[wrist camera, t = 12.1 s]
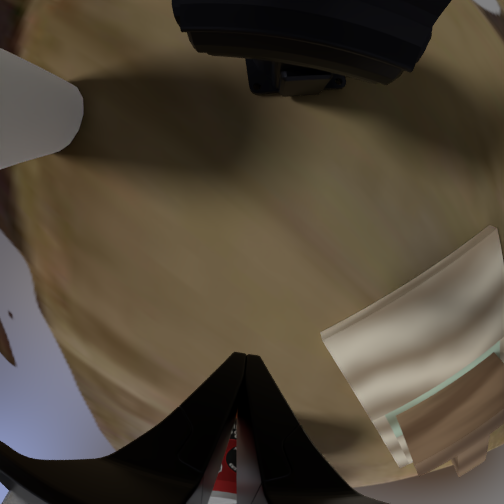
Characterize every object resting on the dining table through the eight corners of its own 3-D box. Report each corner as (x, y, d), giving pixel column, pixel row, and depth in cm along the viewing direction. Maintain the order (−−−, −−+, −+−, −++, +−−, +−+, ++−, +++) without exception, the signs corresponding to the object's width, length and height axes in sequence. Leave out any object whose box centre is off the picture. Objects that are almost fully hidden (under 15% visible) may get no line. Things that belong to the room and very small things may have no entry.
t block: (395, 415, 24) (414, 465, 17) (493, 351, 21) (525, 389, 15) (414, 456, 27) (427, 494, 20) (492, 407, 24) (512, 440, 18)
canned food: (283, 417, 26) (284, 509, 16) (247, 450, 28) (238, 528, 18) (215, 390, 25) (192, 487, 15) (186, 428, 28) (163, 508, 17)
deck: (320, 332, 23) (322, 340, 21) (489, 224, 19) (497, 228, 18) (397, 462, 29) (399, 468, 28) (500, 398, 25) (504, 403, 24)
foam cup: (13, 145, 19) (-93, 159, 7) (51, 56, 17) (-54, 30, 4) (69, 188, 20) (-58, 225, 8) (118, 85, 18) (-10, 43, 5)
